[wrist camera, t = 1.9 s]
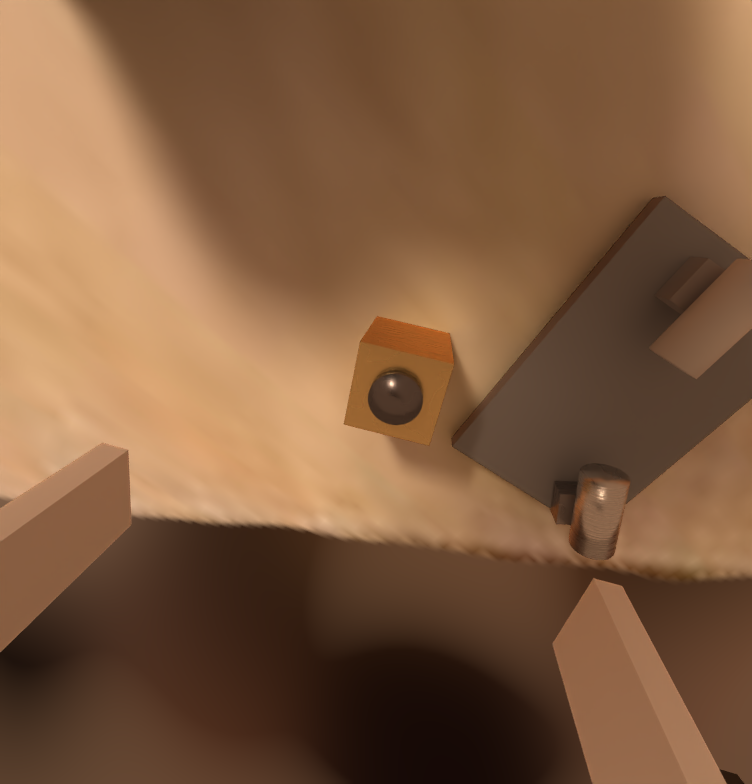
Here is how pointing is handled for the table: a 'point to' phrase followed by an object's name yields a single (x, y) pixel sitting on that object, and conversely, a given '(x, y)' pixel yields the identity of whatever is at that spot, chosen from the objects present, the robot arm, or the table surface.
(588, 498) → the shaft
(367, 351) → the orange rectangular block
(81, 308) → the table surface
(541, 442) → the bolted mounting plate
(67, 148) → the table surface
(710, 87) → the table surface
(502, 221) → the table surface
